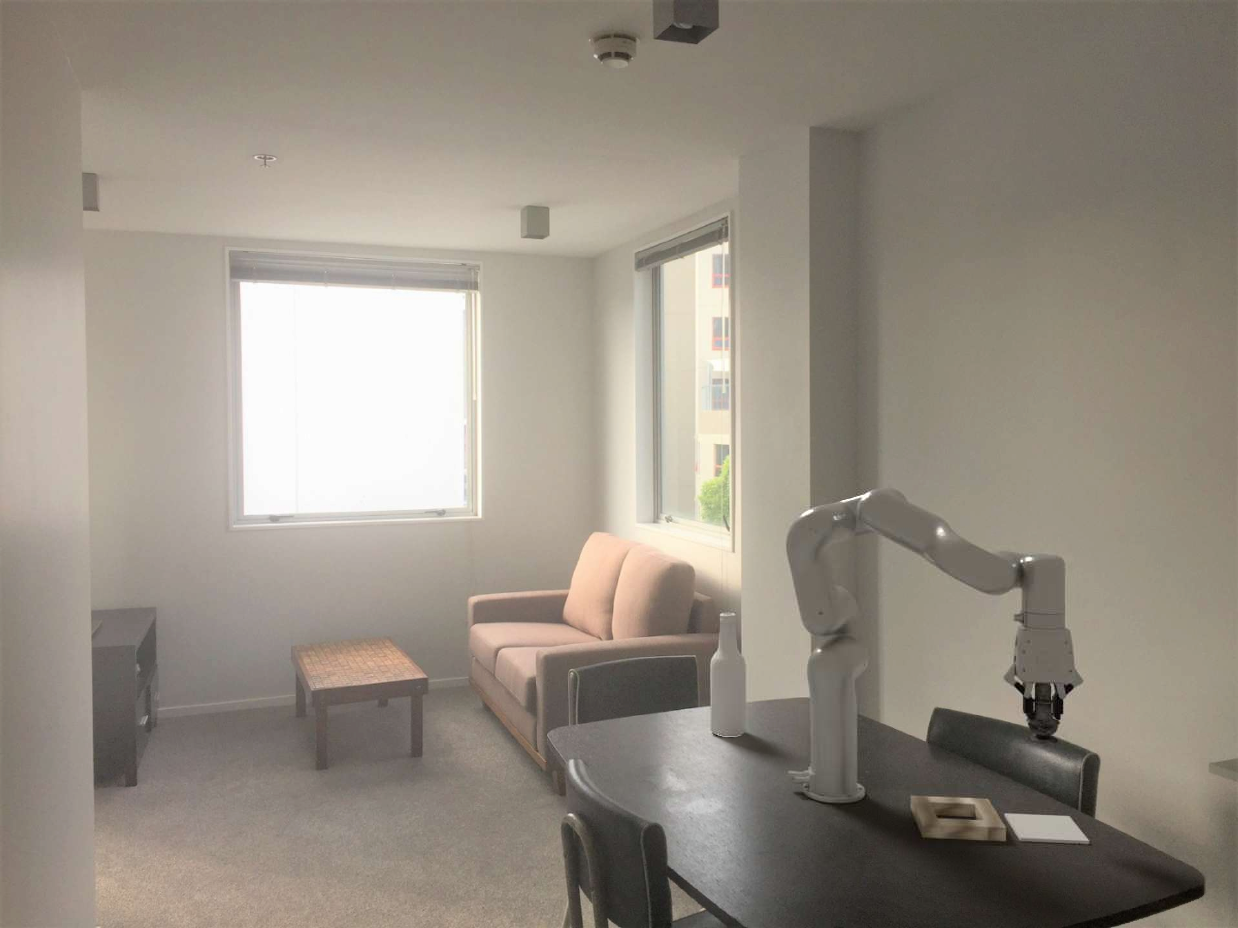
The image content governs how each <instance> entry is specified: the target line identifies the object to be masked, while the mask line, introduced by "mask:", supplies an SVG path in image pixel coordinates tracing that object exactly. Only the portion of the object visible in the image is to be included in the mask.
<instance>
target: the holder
mask: <svg viewBox="0 0 1238 928" xmlns="http://www.w3.org/2000/svg"><path fill="white" fill-rule="evenodd" d="M910 810H911V813H912V815H913V817H914V820H915V822H916V824H917V827H918V829H919V832H920V835H921V836H922V838H928V839H947V840H948V839H949V840H950V839H951V840H952V839H953V840H970V841H971V840H973V841H974V840H975V841H992V842H993V841H996V842H1007V827H1006V825H1005V824H1004V822H1003V820H1002V819H1001V817H1000V815H999V814H998V812H997V811H996V809H995V808H994V806H993V805H992V803H991V802H990V800H989V799H988V798H975V797H974V798H973V797H953V796H927V795H910ZM937 816H948V817H949V816H953V817H972V818H975V819H962V818H958V819H957V818H938V817H937Z"/></svg>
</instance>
